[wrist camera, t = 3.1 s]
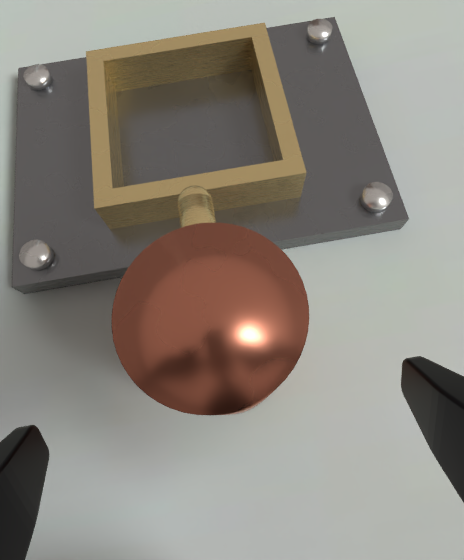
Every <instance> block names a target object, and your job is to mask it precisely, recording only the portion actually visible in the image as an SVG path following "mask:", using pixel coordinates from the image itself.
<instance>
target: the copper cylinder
mask: <svg viewBox="0 0 464 560" xmlns="http://www.w3.org/2000/svg"><path fill="white" fill-rule="evenodd" d="M178 211H179V218H180V225H181V228H179V229H176V230H173V231H171V232H169V233H167V234H165V235H163V236H162V237H160V238H158V239H157V240H155V241H154V242H152V243H151V244H150V245H149V246H148V247H146V248H145V249H144V250H143V251H142V252H141V253H140V254H139V255H138V256H137V257H136V258H135V259H134V261H133V262H132V263H131V265H130V266H129V267H128V269H127V270H126V272H125V274H124V276H123V278H122V279H121V282H120V284H119V286H118V289H117V292H116V295H115V299H114V303H113V310H112V333H113V341H114V344H115V348H116V351H117V354H118V356H119V359H120V361H121V363H122V365H123V367H124V369H125V370H126V372H127V374H128V375H129V376H130V378H131V379H132V380H133V381H134V383H135V384H136V385H137V386H138V387H139V388H140V389H141V390H142V391H144V392H145V393H146V394H147V395H148V396H150V397H151V398H153V399H154V400H156V401H157V402H159V403H161V404H163V405H165V406H167V407H169V408H171V409H175V410H178V411H181V412H184V413H190V414H196V415H230V414H238V413H242V412H245V411H248V410H250V409H252V408H254V407H255V406H257V405H258V404H260V403H261V402H262V401H263V400H264V399H266V398H267V397H268V396H269V395H270V394H271V393H272V392H273V391H274V390H275V389H276V388H277V387H278V386H279V385H280V384H281V383H282V382H283V381H284V380H285V379H286V378H287V376H288V375H289V374H290V372H291V371H292V370H293V368H294V367H295V365H296V363H297V361H298V359H299V358H300V355H301V353H302V350H303V348H304V345H305V341H306V337H307V333H308V325H309V305H308V300H307V294H306V291H305V288H304V284H303V281H302V279H301V277H300V275H299V273H298V271H297V269H296V268H295V266H294V265H293V263H292V262H291V260H290V259H289V258H288V257H287V255H286V254H285V253H284V252H283V251H282V250H281V249H280V248H279V247H278V246H277V245H275V244H274V243H273V242H272V241H270V240H269V239H267V238H266V237H264V236H262V235H261V234H259V233H257V232H255V231H253V230H250V229H247V228H245V227H242V226H237V225H233V224H227V223H216V219H215V213H214V208H213V202H212V198H211V195H210V194H209V192H208V191H207V190H206V189H204V188H203V187H200V186H189V187H187V188H185V189H184V190H183V191H182V192H181V193H180V195H179V197H178Z"/></svg>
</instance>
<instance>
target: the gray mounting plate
mask: <svg viewBox="0 0 464 560" xmlns="http://www.w3.org/2000/svg"><path fill="white" fill-rule="evenodd" d="M189 186H200V187H203V188H204V189H206V190H207V191H208V192H209V194H210V195H211V198H212V202H213V208H214V213H215V219H216V223H227V224H233V225H237V226H242V227H245V228H247V229H250V230H253V231H255V232H257V233H259V234H261V235H262V236H264V237H266V238H267V239H269V240H270V241H272V242H273V243H274V244H275V245H277V246H278V247H279V248H280V249H287V248H293V247H298V246H304V245H310V244H316V243H322V242H328V241H333V240H339V239H345V238H351V237H357V236H362V235H368V234H374V233H380V232H386V231H391V230H397V229H401V228H402V227H403V226H404V224H405V223H406V222H407V221H408V219H409V218H408V215H407V212H406V210H405V207H404V204H403V201H402V199H401V196H400V193H399V191H398V188H397V185H396V182H395V180H394V177H393V174H392V172H391V169H390V166H389V163H388V161H387V158H386V155H385V153H384V150H383V147H382V144H381V142H380V139H379V136H378V134H377V131H376V128H375V125H374V123H373V120H372V117H371V115H370V112H369V109H368V107H367V104H366V101H365V98H364V96H363V93H362V90H361V88H360V85H359V82H358V79H357V77H356V74H355V71H354V69H353V66H352V63H351V60H350V58H349V55H348V52H347V50H346V47H345V44H344V41H343V39H342V36H341V33H340V31H339V28H338V25H337V23H336V20H335V17H332V18H326V19H315V20H313V21H307V22H301V23H295V24H289V25H282V26H276V27H270V28H266V25H265V23H260V24H254V25H247V26H241V27H235V28H229V29H223V30H217V31H210V32H204V33H198V34H192V35H186V36H179V37H173V38H167V39H161V40H155V41H148V42H142V43H136V44H130V45H124V46H117V47H111V48H105V49H99V50H93V51H86V57H85V58H79V59H72V60H66V61H60V62H54V63H48V64H41V65H40V64H37V65H32V66H29V67H23V68H19V69H18V102H17V136H16V169H15V202H14V235H13V269H12V287H13V288H15V289H17V290H18V291H20V292H22V293H24V294H25V293H31V292H37V291H43V290H48V289H54V288H60V287H66V286H72V285H77V284H83V283H89V282H95V281H101V280H107V279H112V278H118V277H123V276H124V274H125V272H126V270H127V269H128V267H129V266H130V265H131V263H132V262H133V261H134V259H135V258H136V257H137V256H138V255H139V254H140V253H141V252H142V251H143V250H144V249H145V248H146V247H148V246H149V245H150V244H151V243H152V242H154V241H155V240H157V239H158V238H160V237H162V236H163V235H165V234H167V233H169V232H171V231H173V230H176V229H179V228H181V225H180V218H179V211H178V197H179V195H180V193H181V192H182V191H183V190H184V189H185V188H187V187H189Z"/></svg>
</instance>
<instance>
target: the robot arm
mask: <svg viewBox="0 0 464 560" xmlns="http://www.w3.org/2000/svg"><path fill="white" fill-rule="evenodd" d="M401 388H402V392H403V395H404V397H405V399H406V401H407V403H408V405H409V407H410V409H411V411H412V413H413V415H414V417H415V419H416V421H417V423H418V425H419V427H420V429H421V431H422V433H423V435H424V437H425V439H426V441H427V443H428V445H429V447H430V449H431V451H432V453H433V454H434V456H435V458H436V459H437V461H438V463H439V464H440V466H441V467H442V469H443V471H444V472H445V474H446V475H447V477H448V479H449V480H450V482H451V483H452V485H453V486H454V488H455V490H456V491H457V493H458V494H459V496H460V497H461V499H462V501H463V502H464V376H462V375H459V374H457V373H455V372H453V371H451V370H449V369H447V368H445V367H443V366H441V365H439V364H436V363H434V362H432V361H430V360H428V359H426V358H424V357H421V356H417V357H412V358H406V359H405V360H403V363H402V377H401ZM48 461H49V450H48V447H47V445H46V443H45V441H44V439H43V437H42V435H41V433H40V431H39V429H38V427H36V426H35V425H29V426H24V427H19V428H16V429H15V430H14V431H12V432H11V433H10V434H9V435H8V436H7V437H6V438H4V439H3V440H2V441H1V442H0V560H25V558H26V555H27V551H28V548H29V545H30V541H31V538H32V535H33V531H34V528H35V524H36V520H37V515H38V511H39V506H40V501H41V496H42V491H43V486H44V481H45V476H46V471H47V466H48Z"/></svg>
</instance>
